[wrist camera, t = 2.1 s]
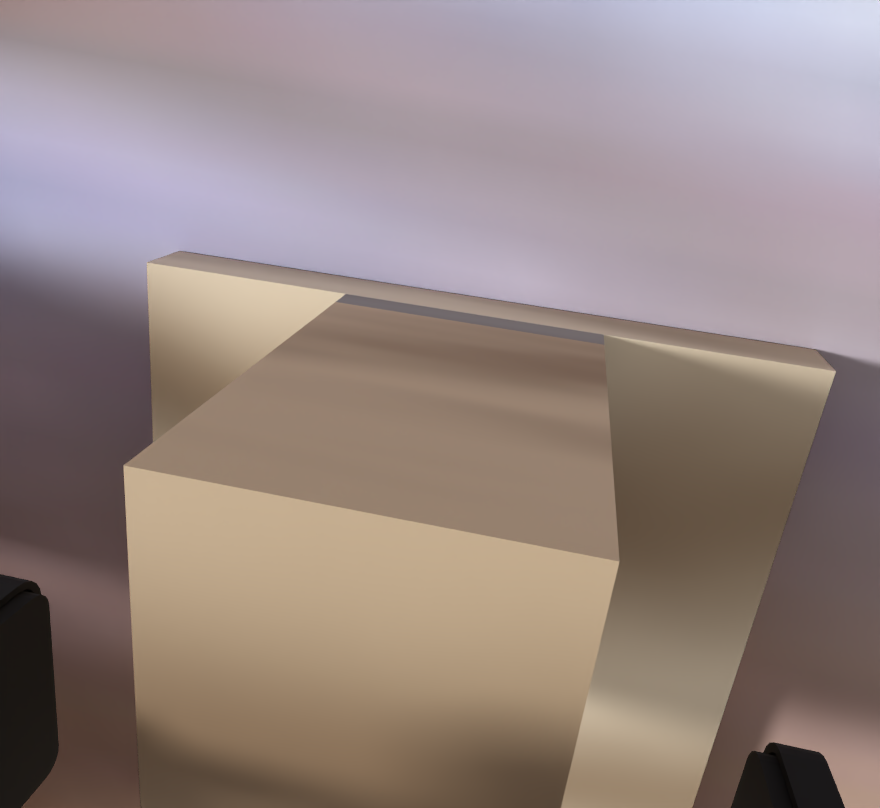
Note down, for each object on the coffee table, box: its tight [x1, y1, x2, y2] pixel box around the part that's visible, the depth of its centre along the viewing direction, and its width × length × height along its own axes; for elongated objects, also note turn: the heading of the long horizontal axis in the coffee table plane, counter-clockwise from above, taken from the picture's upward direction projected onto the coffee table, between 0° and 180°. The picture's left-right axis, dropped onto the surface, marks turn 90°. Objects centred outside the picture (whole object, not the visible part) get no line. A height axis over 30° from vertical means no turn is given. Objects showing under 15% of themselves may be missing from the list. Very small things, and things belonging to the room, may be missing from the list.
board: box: [147, 251, 836, 808], centre depth 17 cm, size 18×12×1 cm, turn 174°
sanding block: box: [123, 294, 620, 808], centre depth 11 cm, size 7×4×7 cm, turn 174°
